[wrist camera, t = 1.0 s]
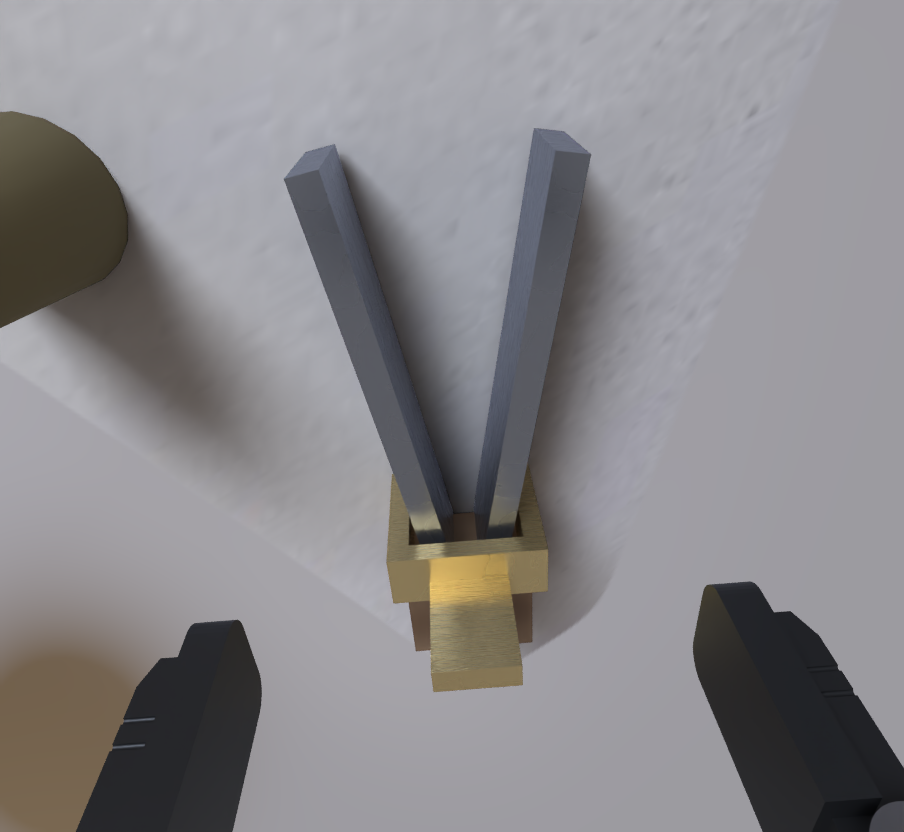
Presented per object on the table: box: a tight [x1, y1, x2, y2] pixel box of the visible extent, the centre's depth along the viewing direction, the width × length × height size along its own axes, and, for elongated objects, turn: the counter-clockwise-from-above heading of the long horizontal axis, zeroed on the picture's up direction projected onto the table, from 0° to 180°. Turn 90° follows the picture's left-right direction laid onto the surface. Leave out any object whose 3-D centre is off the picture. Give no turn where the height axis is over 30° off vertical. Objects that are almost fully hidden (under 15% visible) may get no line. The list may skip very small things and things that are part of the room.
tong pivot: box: [409, 512, 532, 651], centre depth 29 cm, size 3×5×5 cm, turn 94°
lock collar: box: [387, 463, 548, 692], centre depth 25 cm, size 2×6×9 cm, turn 94°
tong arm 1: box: [474, 128, 591, 540], centre depth 24 cm, size 16×1×4 cm, turn 174°
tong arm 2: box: [284, 144, 455, 545], centre depth 24 cm, size 16×1×4 cm, turn 14°
